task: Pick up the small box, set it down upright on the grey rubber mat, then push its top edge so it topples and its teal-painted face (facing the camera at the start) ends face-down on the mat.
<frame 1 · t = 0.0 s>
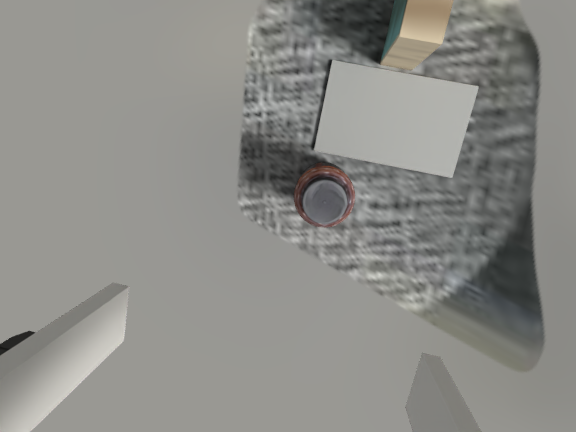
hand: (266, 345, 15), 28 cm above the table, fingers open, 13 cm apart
grey mat: (392, 120, 39), on the table
small box: (405, 28, 37), on the table
supplement bottle: (323, 187, 42), on the table
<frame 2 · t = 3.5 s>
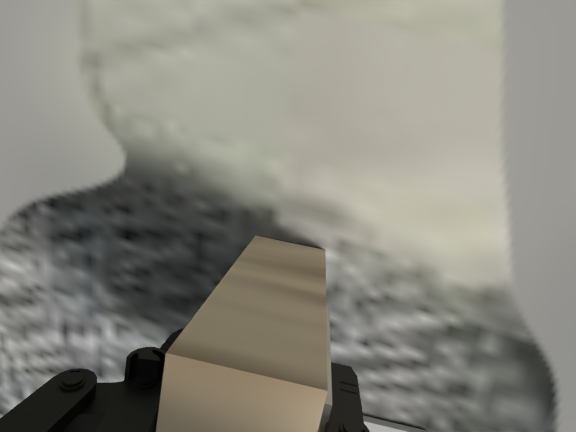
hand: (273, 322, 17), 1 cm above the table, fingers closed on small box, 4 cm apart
small box: (275, 315, 18), on the table, touching gripper
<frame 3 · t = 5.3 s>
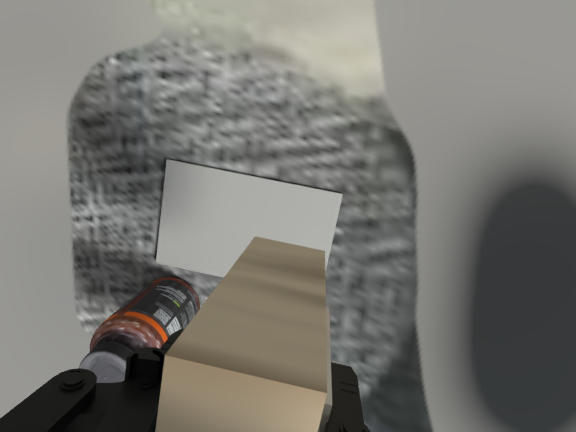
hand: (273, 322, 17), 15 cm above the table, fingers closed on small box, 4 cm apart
grey mat: (245, 229, 32), on the table
small box: (275, 316, 18), point 14 cm above the table, touching gripper
supplement bottle: (174, 301, 35), on the table
when the fingers open (2 cm above the table, at t = 7.4 s): small box drops 1 cm, resting on grey mat.
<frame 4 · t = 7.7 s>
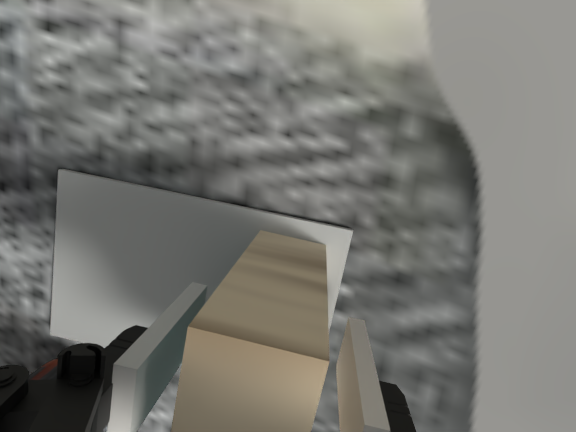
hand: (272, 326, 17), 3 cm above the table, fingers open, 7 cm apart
grey mat: (192, 284, 20), on the table
small box: (277, 306, 19), resting on grey mat
supplement bottle: (84, 392, 22), on the table
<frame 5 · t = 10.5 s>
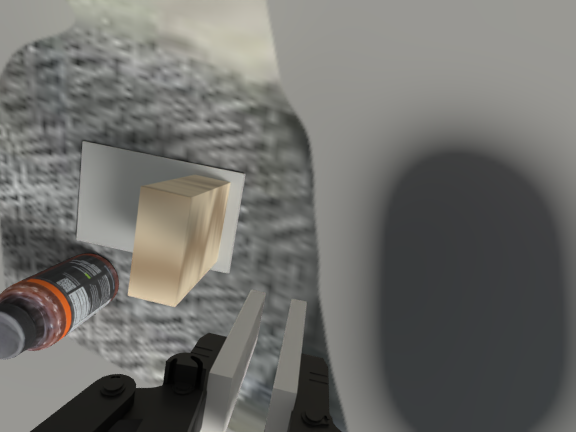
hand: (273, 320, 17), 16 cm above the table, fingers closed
grey mat: (158, 207, 34), on the table
small box: (206, 218, 34), resting on grey mat
supplement bottle: (96, 278, 37), on the table
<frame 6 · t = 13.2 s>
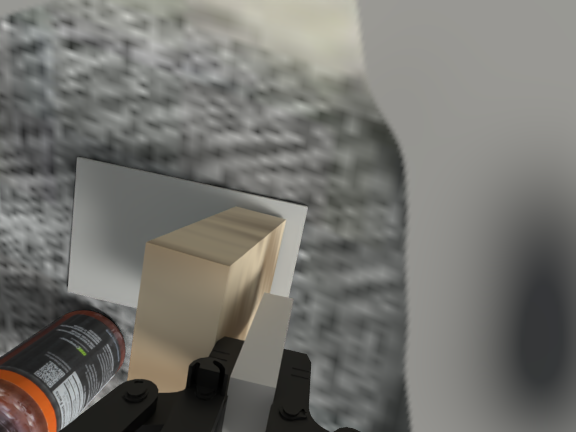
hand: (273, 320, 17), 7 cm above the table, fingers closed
grey mat: (182, 250, 25), on the table
small box: (249, 268, 24), point 1 cm above the table, tilted 6°, touching grey mat, gripper
supplement bottle: (94, 341, 27), on the table
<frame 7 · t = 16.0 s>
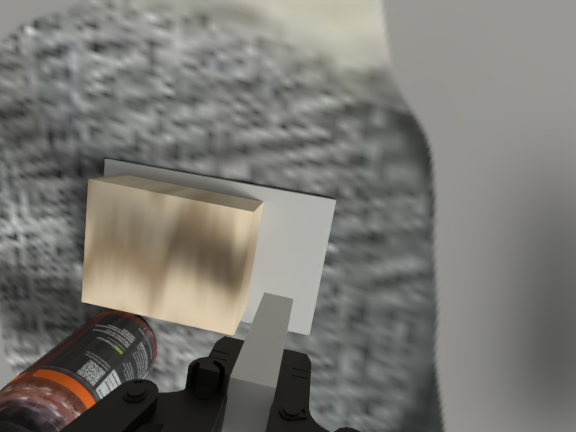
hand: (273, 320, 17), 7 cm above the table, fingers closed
grey mat: (211, 247, 25), on the table
small box: (249, 266, 22), point 2 cm above the table, tilted 90°, touching grey mat
supplement bottle: (125, 340, 27), on the table
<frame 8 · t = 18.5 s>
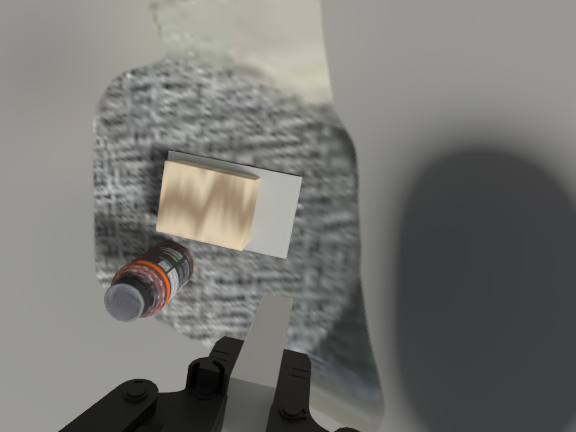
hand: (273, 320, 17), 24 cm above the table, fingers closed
grey mat: (229, 204, 42), on the table
small box: (251, 213, 39), point 2 cm above the table, tilted 90°, touching grey mat
supplement bottle: (173, 263, 44), on the table
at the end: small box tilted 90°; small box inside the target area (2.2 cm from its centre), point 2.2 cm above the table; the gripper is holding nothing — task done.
